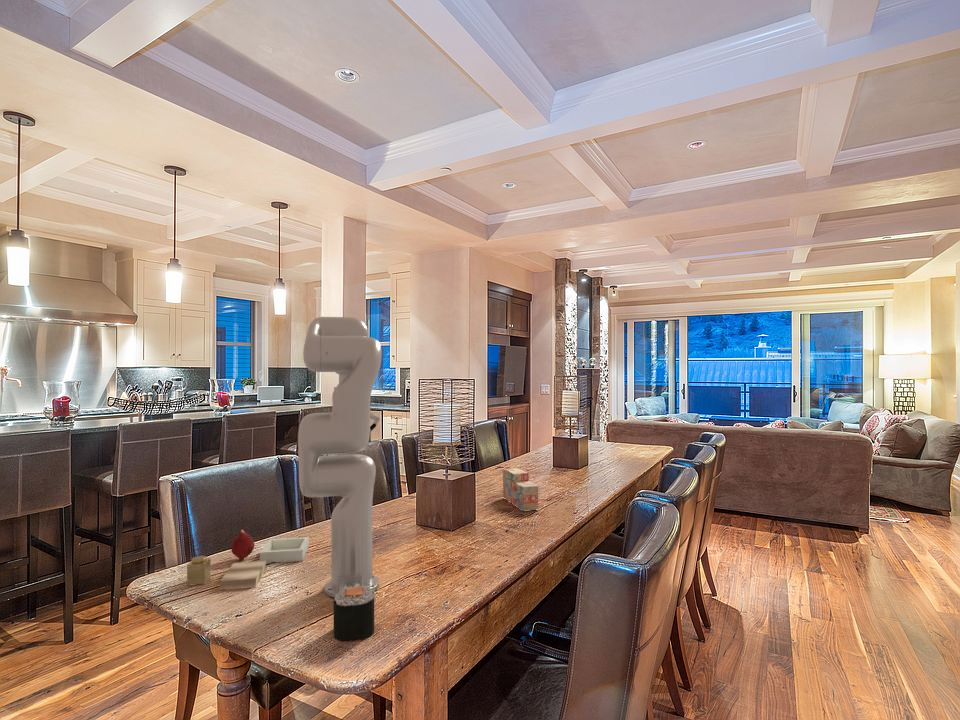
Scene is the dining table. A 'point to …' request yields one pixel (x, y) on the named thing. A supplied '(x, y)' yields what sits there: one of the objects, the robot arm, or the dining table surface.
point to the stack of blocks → (520, 489)
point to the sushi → (353, 613)
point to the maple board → (243, 575)
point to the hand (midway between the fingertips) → (351, 445)
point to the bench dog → (198, 570)
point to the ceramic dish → (285, 550)
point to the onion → (242, 545)
